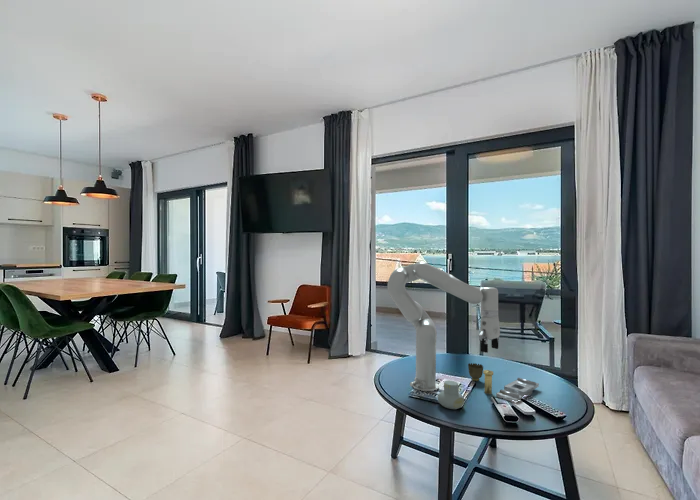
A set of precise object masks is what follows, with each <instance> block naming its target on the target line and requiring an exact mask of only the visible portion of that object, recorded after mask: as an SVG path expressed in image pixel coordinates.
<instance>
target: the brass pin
mask: <svg viewBox="0 0 700 500" xmlns="http://www.w3.org/2000/svg"><path fill="white" fill-rule="evenodd" d="M483 374H484V390H483V391H484V394H486V395H492V393H493V376H494V371H493V370H490V369H483ZM483 374H482V375H483Z"/></svg>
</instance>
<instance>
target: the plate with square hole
mask: <svg viewBox="0 0 700 500" xmlns="http://www.w3.org/2000/svg"><path fill="white" fill-rule="evenodd" d="M503 386H504V387H503V388H504V389H500V390H499V391H498V392H496V395H495V396H496V397H497V398H499V399H502V398H503V399H502V400H505V401H508V402H511V401H512V400H514V401H518V400H521V399H522V397H523V396H524V395H529V396H531V395H533V391H534V390H536V389H537V388H539V387H540V384H539V383H538V382H535V381H533V380H532V381H531V380H528V379H525V378H521V377H517V379H516V380H514V381H512V382H509V383H508V384H505V385H503ZM521 401H522V400H521Z"/></svg>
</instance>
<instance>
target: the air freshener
mask: <svg viewBox="0 0 700 500" xmlns="http://www.w3.org/2000/svg"><path fill="white" fill-rule="evenodd" d="M437 401H438V403H439V404H440V405H441V406H442V407H444V408H446V409H450V410H457V409H460V408H462V407H463V406H464V404H465V397H464V396H463V395H462V393H460V392H459V383H458V382H457V381H455V380H445V381H444V382H443V390H442V391H441V392H439V393H438V395H437Z"/></svg>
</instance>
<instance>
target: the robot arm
mask: <svg viewBox="0 0 700 500" xmlns="http://www.w3.org/2000/svg"><path fill="white" fill-rule="evenodd" d="M418 280H420V281H423V282H426V283H427V284H429V285H432V286H433V287H436V288H437V289H439V290H441V291H444V292H445V293H448V294H450V295H453V296H455V297H457V298H458V299H461V300H463V301H465V302H467V303H469V304H472V305H478V304H480V317H481V320H480V331H479V332H480V333H479V334H478V339H479V343H480V352H481V353H482V352H483V353H487V354H488V352H489V348H488V347H489V346H488V345H489V344H488V342H489V340H491V345H490V346H491V348H492V349H495V350H498V349H499V339H500V336H501V329H500V327H501V326H500V319H499V290H498V288H497V287H493V286H484V287H480V286H476V285H475V286H473V285H470V284H468V283H466V282H464V281H462V280H460V279H458V278H457V277H455V276H454V275H453V274H450V273H448V272H446V271H444V270H443V269H440V268H438V267H435V266H433V265H431V264H429V263H428V262H425V261H418V262H415V263H413V264H409V265H406V266H403V267H399V268H396V269H394V270H393V271H392V273H391V274H390V276H389V278H388V280H387V292H388V294H389V296H390V299H392V301H393V303H394V304H395V305H396V307H397V308H398V310H399V311H400V313H401V314H402V316H403V317H404V319H405V320H406V321H407V322H409V323H410V324H411V326H413V328H414V329H415V377H414V381H410V383H409V386H410V388H411V387H413V388H414V389H415V390H417V391H420V390H421V392H427V391H431V392H435V391H434V390H436V391H437V389H438V388H439V389H440V385H439V384H438V382H437V381H436V379H437V375H436V374H437V373H436V372H437V338H438V337H437V327H436V324H435V322H434V321H433V319H432V318H431V317H430V315H429V314H428V312H426V310H425V308H424V307H423V306H422V305H421V304H420V303H419V302H417V301H415V300H414V299H413V297H412V296H411V294H410V293H409V291H408V290H407V288H406V284H408V283H412V282H415V281H418ZM439 389H438V390H439Z"/></svg>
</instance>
